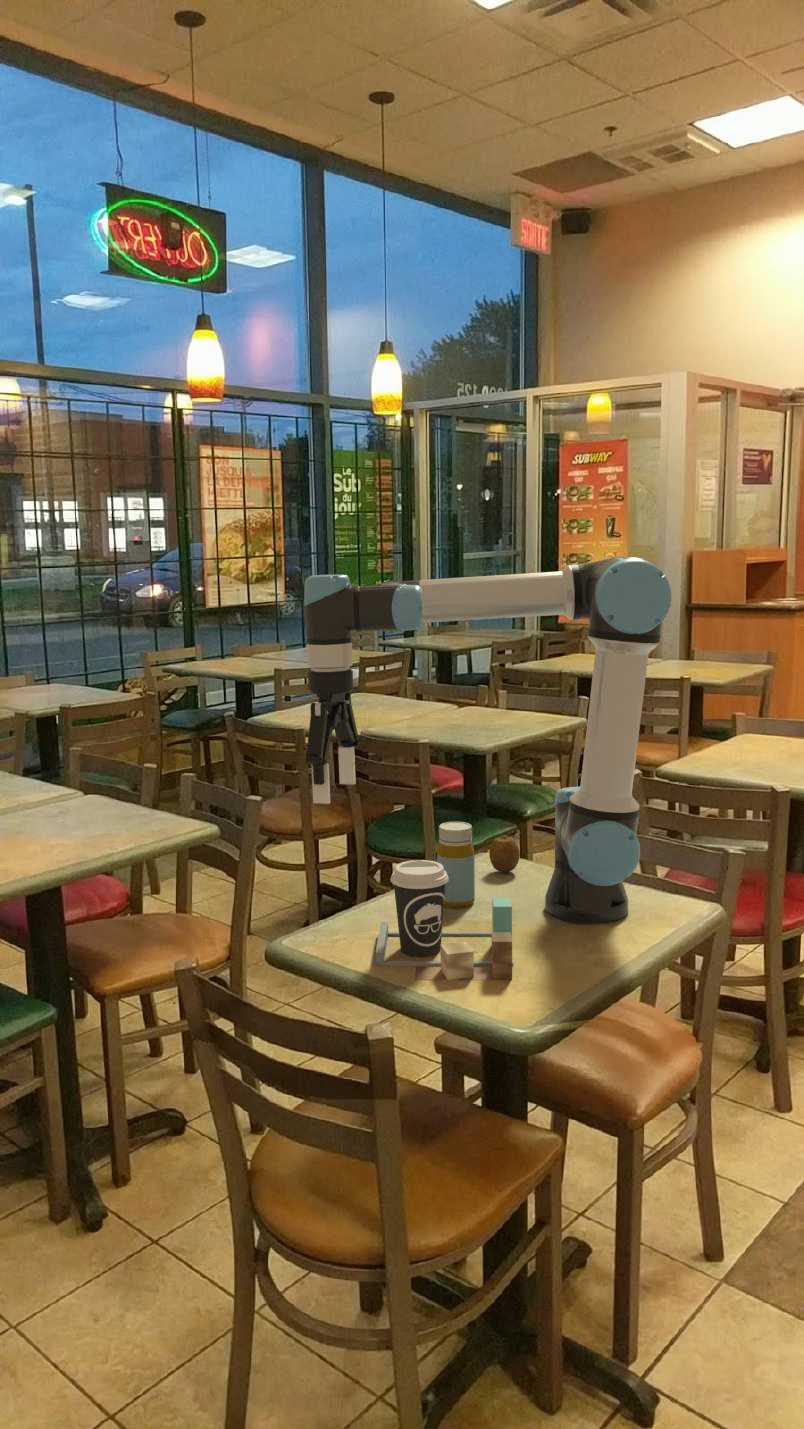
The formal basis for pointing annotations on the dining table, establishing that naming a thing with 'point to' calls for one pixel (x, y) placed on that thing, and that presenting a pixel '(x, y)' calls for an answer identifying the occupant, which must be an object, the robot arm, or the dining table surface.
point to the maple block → (457, 960)
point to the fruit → (504, 854)
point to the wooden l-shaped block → (497, 972)
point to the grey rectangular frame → (499, 924)
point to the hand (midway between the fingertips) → (335, 793)
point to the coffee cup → (420, 906)
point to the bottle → (457, 863)
